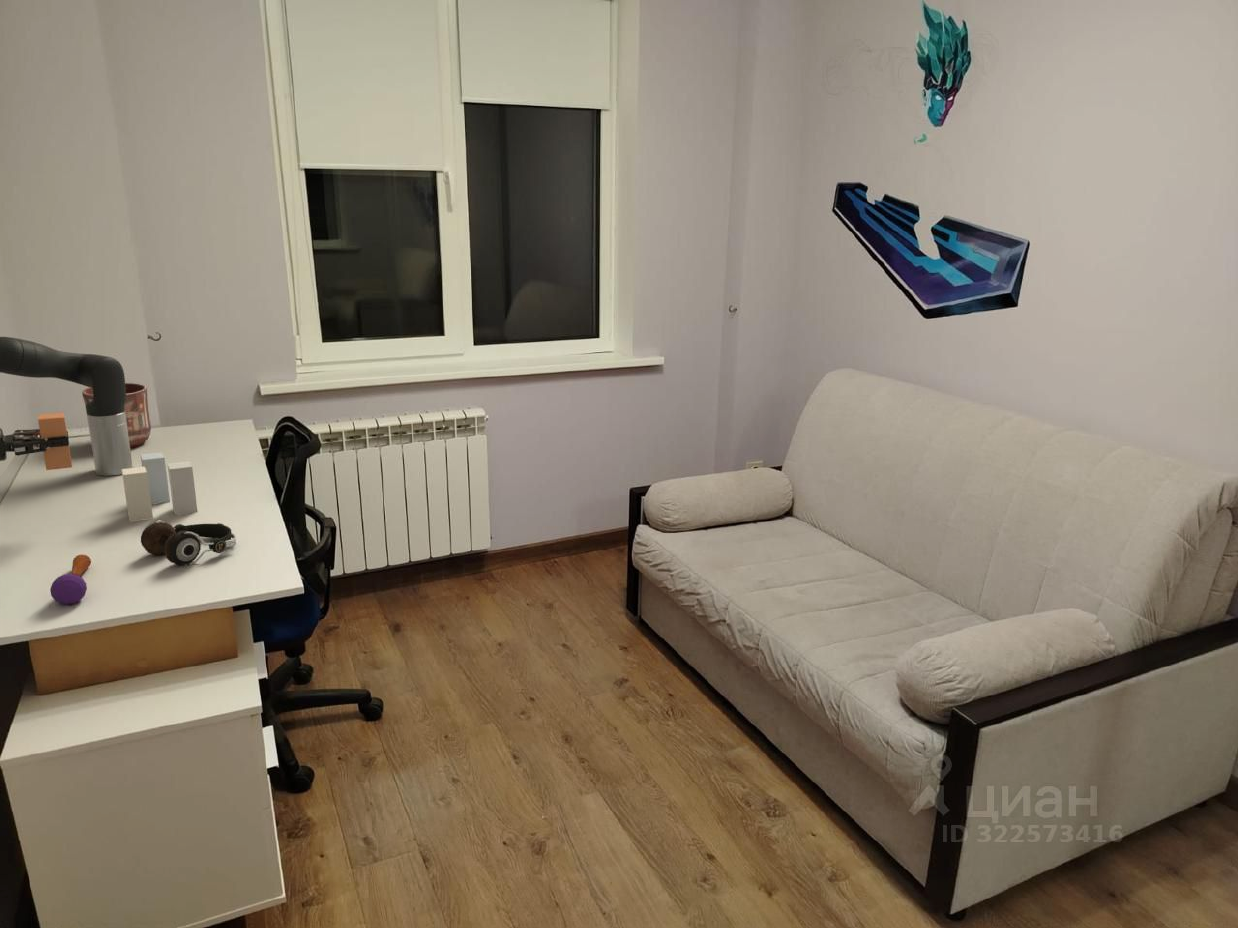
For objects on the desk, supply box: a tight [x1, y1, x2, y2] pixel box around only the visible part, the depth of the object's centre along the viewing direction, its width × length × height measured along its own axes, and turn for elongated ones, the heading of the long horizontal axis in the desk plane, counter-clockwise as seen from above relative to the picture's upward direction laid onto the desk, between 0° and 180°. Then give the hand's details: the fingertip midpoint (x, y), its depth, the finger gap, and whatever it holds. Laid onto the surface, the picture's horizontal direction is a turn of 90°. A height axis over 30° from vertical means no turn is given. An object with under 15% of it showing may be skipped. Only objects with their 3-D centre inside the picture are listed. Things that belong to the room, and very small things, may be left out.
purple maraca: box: [49, 553, 92, 606], centre depth 173 cm, size 6×6×20 cm
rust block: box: [37, 412, 73, 471], centre depth 197 cm, size 5×5×12 cm
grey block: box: [166, 460, 198, 516], centre depth 215 cm, size 5×5×12 cm
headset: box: [140, 519, 237, 566], centre depth 193 cm, size 17×8×20 cm
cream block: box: [121, 466, 154, 522], centre depth 210 cm, size 5×5×12 cm
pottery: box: [81, 382, 152, 449], centre depth 265 cm, size 18×18×18 cm
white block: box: [140, 452, 171, 505], centre depth 221 cm, size 5×5×12 cm
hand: (67, 437), depth 198 cm, fingers closed on rust block, 5 cm apart
